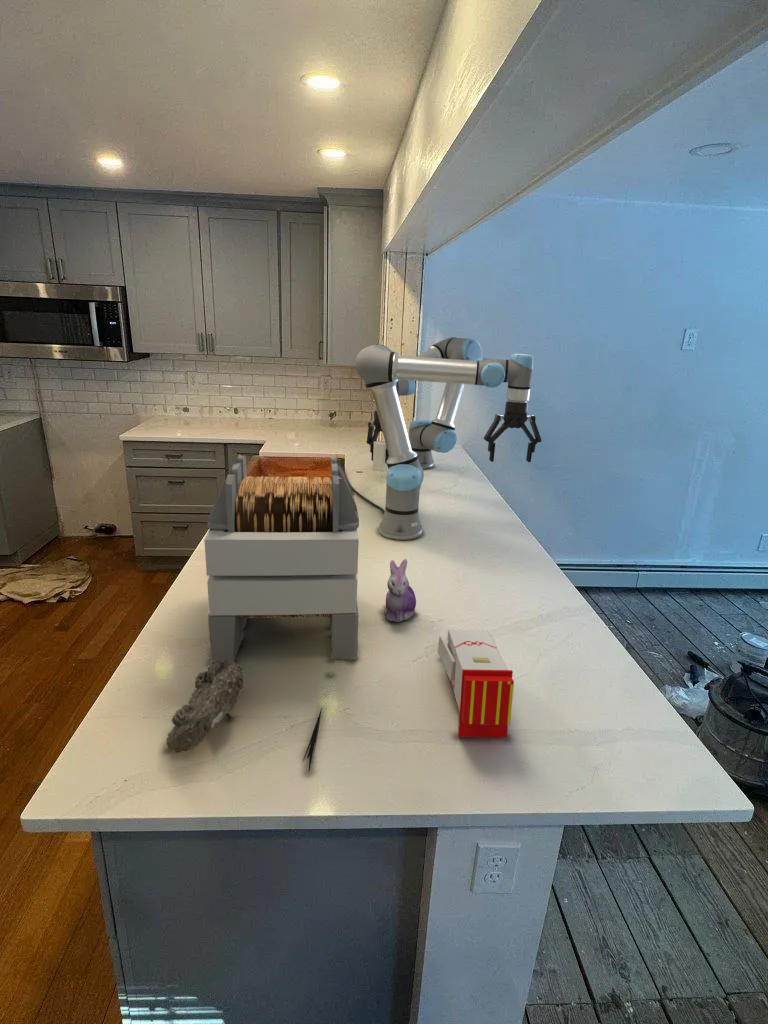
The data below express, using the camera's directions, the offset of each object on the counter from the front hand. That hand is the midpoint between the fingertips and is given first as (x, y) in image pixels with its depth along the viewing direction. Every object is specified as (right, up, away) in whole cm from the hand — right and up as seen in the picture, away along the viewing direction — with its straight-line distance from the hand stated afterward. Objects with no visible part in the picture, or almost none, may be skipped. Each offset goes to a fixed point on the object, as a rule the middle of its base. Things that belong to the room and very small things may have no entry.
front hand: (509, 461), depth 201 cm
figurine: (-41, -45, -54) cm, 81 cm away
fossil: (-77, -57, -93) cm, 134 cm away
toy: (-27, -56, -83) cm, 103 cm away
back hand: (-46, +5, +54) cm, 72 cm away
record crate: (-69, -46, -60) cm, 102 cm away
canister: (-47, +1, +56) cm, 73 cm away
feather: (-57, -58, -93) cm, 123 cm away
